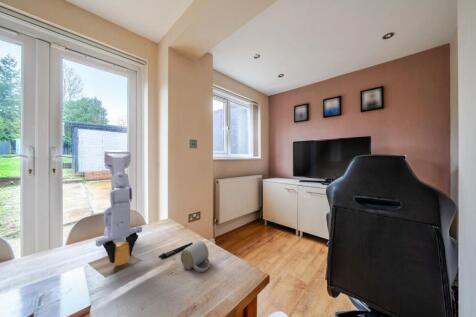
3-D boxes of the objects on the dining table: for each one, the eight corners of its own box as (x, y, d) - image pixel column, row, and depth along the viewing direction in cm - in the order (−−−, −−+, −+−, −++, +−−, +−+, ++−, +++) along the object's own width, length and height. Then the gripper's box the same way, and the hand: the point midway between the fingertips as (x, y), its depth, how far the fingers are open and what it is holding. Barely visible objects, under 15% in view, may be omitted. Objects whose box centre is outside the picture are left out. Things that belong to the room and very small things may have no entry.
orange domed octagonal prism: (109, 262, 64) (109, 245, 64) (124, 256, 69) (124, 240, 69) (116, 267, 62) (116, 249, 62) (131, 260, 66) (131, 243, 66)
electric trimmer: (194, 250, 80) (195, 243, 80) (161, 265, 68) (161, 257, 68) (189, 248, 82) (189, 240, 82) (156, 262, 70) (156, 253, 70)
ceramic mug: (178, 266, 67) (179, 245, 67) (195, 256, 74) (196, 238, 74) (198, 277, 61) (198, 254, 61) (215, 266, 68) (215, 245, 68)
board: (87, 267, 66) (87, 252, 66) (122, 253, 76) (123, 240, 76) (105, 282, 58) (105, 265, 58) (142, 264, 68) (142, 249, 68)
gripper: (102, 229, 57) (101, 272, 57) (146, 217, 69) (146, 252, 69) (93, 224, 61) (92, 265, 61) (136, 214, 73) (136, 247, 73)
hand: (120, 258), depth 65 cm, fingers closed on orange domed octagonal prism, 5 cm apart
